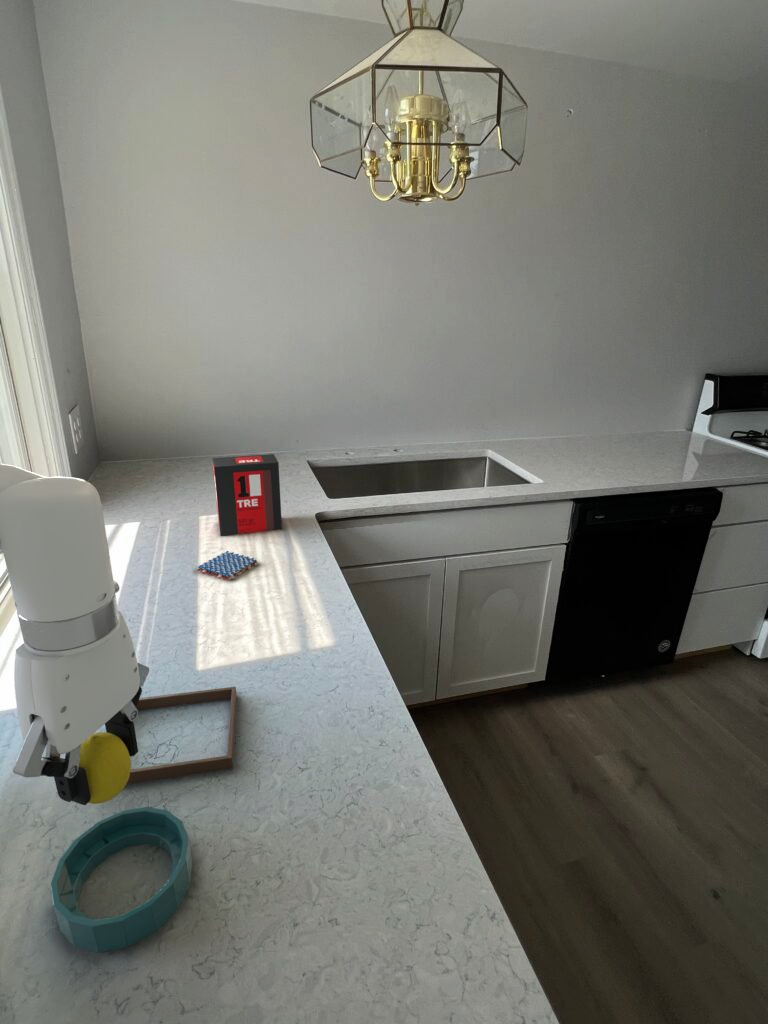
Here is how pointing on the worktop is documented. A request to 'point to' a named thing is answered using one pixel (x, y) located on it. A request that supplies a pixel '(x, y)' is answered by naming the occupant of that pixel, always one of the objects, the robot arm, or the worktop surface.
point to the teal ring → (96, 848)
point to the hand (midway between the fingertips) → (100, 772)
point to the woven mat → (227, 565)
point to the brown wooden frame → (194, 765)
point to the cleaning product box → (247, 494)
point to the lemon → (105, 766)
